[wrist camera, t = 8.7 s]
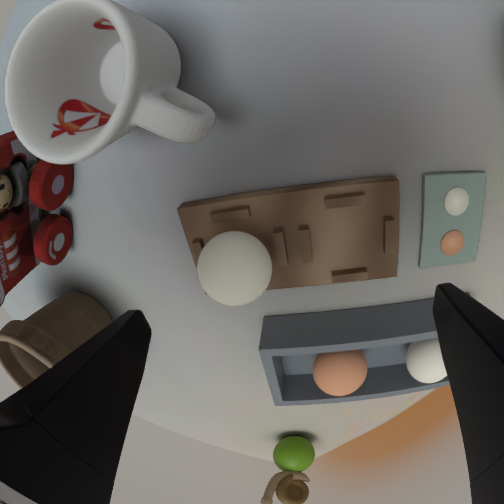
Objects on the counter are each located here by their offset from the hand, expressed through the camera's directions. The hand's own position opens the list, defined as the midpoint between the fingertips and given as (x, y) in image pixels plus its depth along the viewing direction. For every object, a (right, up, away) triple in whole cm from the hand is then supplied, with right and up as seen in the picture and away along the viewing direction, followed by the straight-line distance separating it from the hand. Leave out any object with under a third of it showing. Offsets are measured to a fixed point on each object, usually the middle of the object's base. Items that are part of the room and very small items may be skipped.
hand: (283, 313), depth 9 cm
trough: (+9, -6, +16) cm, 20 cm away
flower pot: (-18, -4, +20) cm, 27 cm away
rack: (+2, +3, +12) cm, 13 cm away
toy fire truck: (-18, +7, +13) cm, 24 cm away
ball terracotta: (+6, -7, +17) cm, 19 cm away
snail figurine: (+5, -23, +28) cm, 36 cm away
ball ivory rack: (-2, +2, +12) cm, 12 cm away
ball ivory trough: (+14, -6, +15) cm, 21 cm away
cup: (-7, +12, +8) cm, 16 cm away
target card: (+13, +4, +10) cm, 17 cm away
